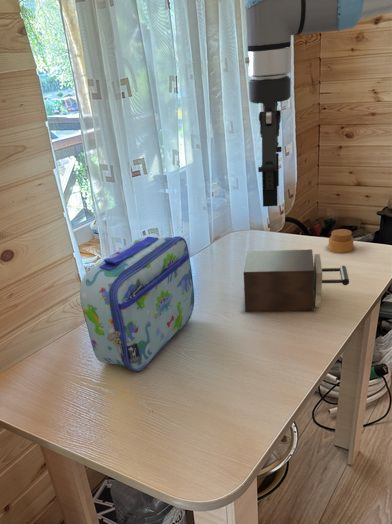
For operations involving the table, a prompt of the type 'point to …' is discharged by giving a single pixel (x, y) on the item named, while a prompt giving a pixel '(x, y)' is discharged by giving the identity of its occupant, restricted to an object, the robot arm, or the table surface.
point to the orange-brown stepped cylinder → (341, 241)
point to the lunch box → (138, 300)
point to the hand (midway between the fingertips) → (271, 195)
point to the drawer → (319, 281)
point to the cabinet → (279, 281)
